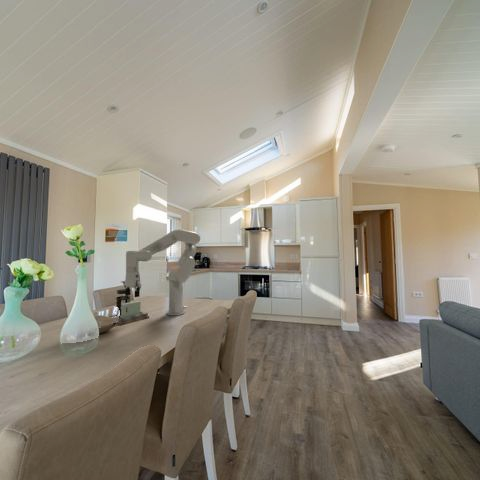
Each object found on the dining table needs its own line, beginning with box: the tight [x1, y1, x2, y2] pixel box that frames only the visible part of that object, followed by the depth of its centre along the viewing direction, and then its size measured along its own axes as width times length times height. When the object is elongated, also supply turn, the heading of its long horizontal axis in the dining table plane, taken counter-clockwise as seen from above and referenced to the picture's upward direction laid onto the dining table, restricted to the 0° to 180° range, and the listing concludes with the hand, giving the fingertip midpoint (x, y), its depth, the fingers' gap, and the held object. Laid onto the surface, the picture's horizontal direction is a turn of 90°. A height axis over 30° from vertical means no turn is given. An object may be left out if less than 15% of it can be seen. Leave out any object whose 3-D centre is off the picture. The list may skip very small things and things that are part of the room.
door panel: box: [121, 300, 142, 318], centre depth 157 cm, size 12×3×10 cm, turn 148°
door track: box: [115, 310, 150, 326], centre depth 157 cm, size 20×11×3 cm, turn 148°
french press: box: [115, 281, 131, 316], centre depth 170 cm, size 12×9×23 cm
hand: (132, 296), depth 158 cm, fingers open, 9 cm apart
